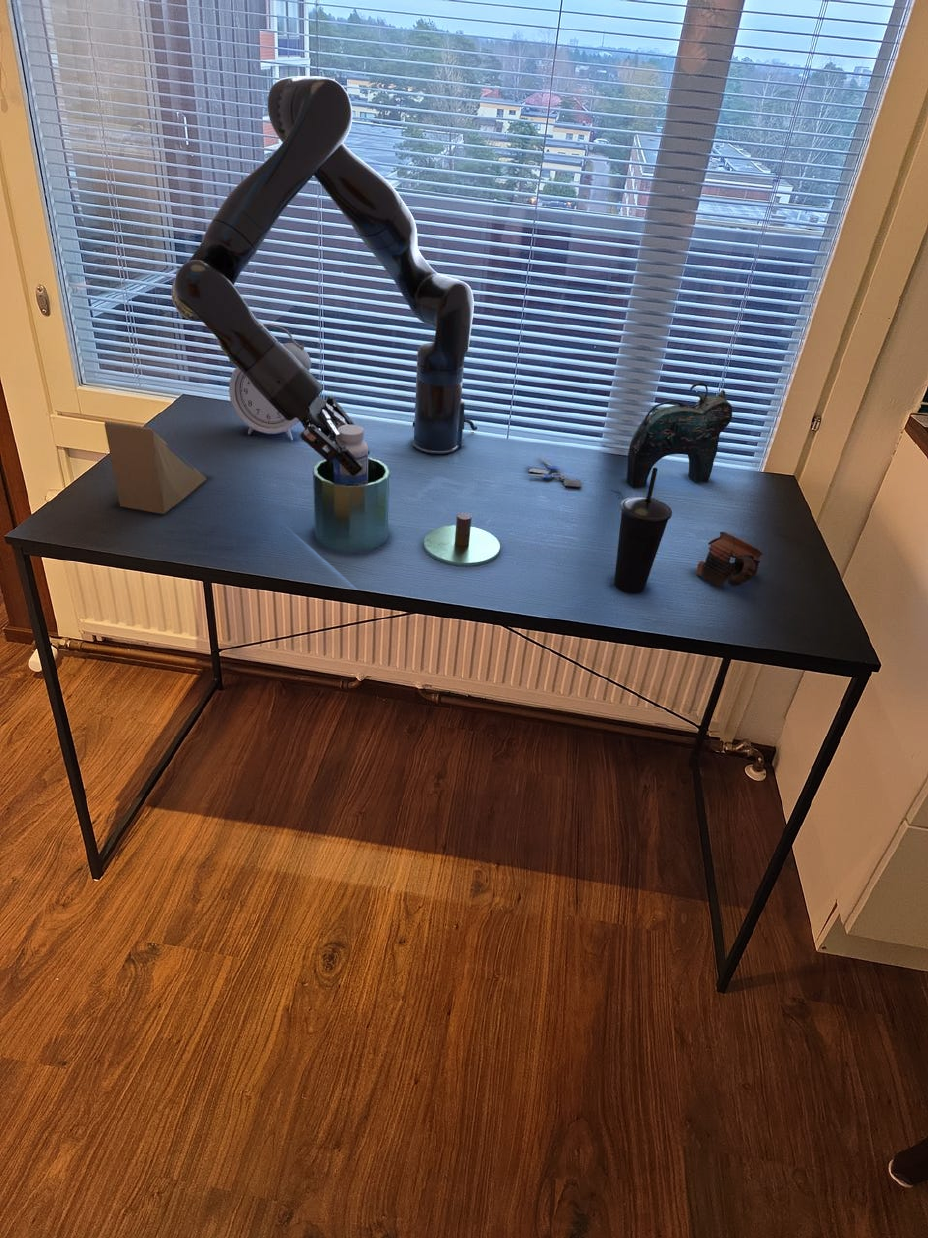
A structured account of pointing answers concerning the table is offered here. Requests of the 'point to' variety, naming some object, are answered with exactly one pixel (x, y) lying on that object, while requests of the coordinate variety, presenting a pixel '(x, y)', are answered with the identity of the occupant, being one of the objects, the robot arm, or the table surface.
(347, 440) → the pill bottle
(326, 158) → the robot arm
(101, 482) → the table surface
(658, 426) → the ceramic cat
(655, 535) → the drinking cup
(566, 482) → the key chain
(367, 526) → the tin
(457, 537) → the lid
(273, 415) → the alarm clock
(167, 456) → the sandwich container
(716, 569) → the brown wooden hut
